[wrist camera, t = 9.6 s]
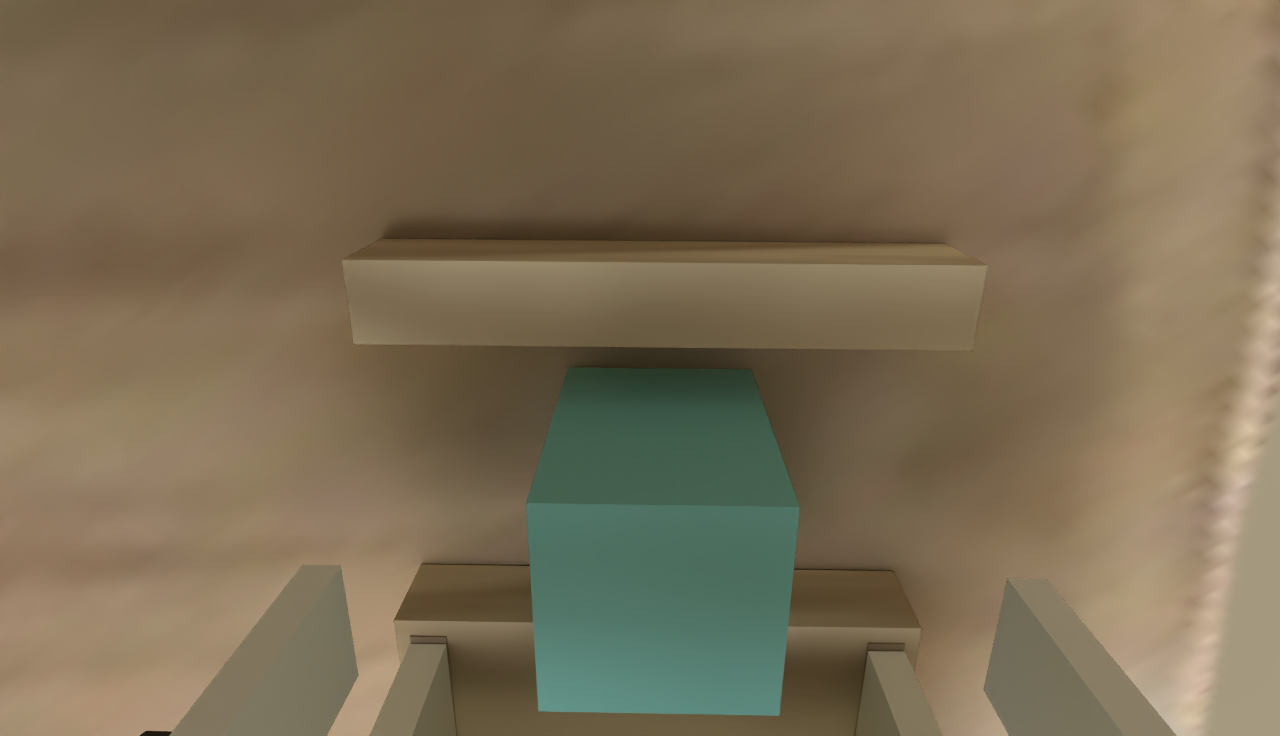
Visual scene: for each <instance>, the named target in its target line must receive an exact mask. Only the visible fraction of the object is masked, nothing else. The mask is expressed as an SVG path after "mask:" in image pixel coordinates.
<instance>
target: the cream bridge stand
mask: <svg viewBox="0 0 1280 736" xmlns="http://www.w3.org/2000/svg"><path fill="white" fill-rule="evenodd" d="M370 736H457V735H456V726H455V718H454V709H453V700H452V692H451V683H450V674H449V665H448V657H447V648H446V644H410V645H409V647H408V649H407V652H406V654H405V656H404V659H403V661H402V663H401V665H400V668H399V670H398V672H397V674H396V677H395V679H394V681H393V684H392V686H391V688H390V690H389V693H388V695H387V697H386V699H385V702H384V704H383V706H382V709H381V711H380V713H379V715H378V718H377V720H376V722H375V725H374V727H373V729H372V731H371V734H370ZM855 736H943V735H942V733H941V731H940V728H939V726H938V724H937V722H936V720H935V717H934V715H933V713H932V711H931V708H930V706H929V704H928V702H927V700H926V697H925V695H924V693H923V691H922V689H921V686H920V684H919V682H918V680H917V678H916V675H915V673H914V671H913V669H912V666H911V664H910V662H909V660H908V658H907V655H906V653H905V652H900V651H868V655H867V662H866V668H865V675H864V681H863V688H862V695H861V701H860V708H859V715H858V721H857V728H856V735H855Z"/></svg>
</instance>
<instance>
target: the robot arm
mask: <svg viewBox="0 0 1280 736" xmlns="http://www.w3.org/2000/svg"><path fill="white" fill-rule="evenodd" d="M357 677H358V670H357V664H356V657H355V651H354V645H353V639H352V632H351V626H350V620H349V614H348V607H347V601H346V595H345V589H344V583H343V576H342V570H341V565H302V566H301V567H300V569H299V570H298V571H297V572H296V574H295V575H294V576H293V578H292V579H291V580H290V581H289V583H288V584H287V585H286V587H285V588H284V589H283V590H282V592H281V593H280V594H279V596H278V597H277V598H276V599H275V601H274V602H273V603H272V605H271V606H270V607H269V608H268V610H267V611H266V612H265V614H264V615H263V616H262V617H261V619H260V620H259V621H258V623H257V624H256V625H255V626H254V628H253V629H252V630H251V632H250V633H249V634H248V635H247V637H246V638H245V639H244V640H243V642H242V643H241V644H240V646H239V647H238V648H237V649H236V651H235V652H234V653H233V655H232V656H231V657H230V658H229V660H228V661H227V662H226V664H225V665H224V666H223V667H222V669H221V670H220V671H219V673H218V674H217V675H216V676H215V678H214V679H213V680H212V682H211V683H210V684H209V685H208V687H207V688H206V689H205V691H204V692H203V693H202V694H201V696H200V697H199V698H198V699H197V701H196V702H195V703H194V705H193V706H192V707H191V708H190V710H189V711H188V712H187V714H186V715H185V716H184V717H183V719H182V720H181V721H180V723H179V724H178V725H177V726H176V728H175V729H174V730H173V732H167V731H145V732H144V733H143V734H141V735H140V736H327V734H328V732H329V730H330V728H331V726H332V725H333V723H334V721H335V719H336V717H337V715H338V713H339V711H340V709H341V708H342V706H343V704H344V702H345V700H346V698H347V696H348V694H349V692H350V691H351V689H352V687H353V685H354V683H355V681H356V679H357ZM984 691H985V693H986V695H987V697H988V698H989V700H990V702H991V704H992V706H993V707H994V709H995V711H996V713H997V715H998V716H999V718H1000V720H1001V722H1002V723H1003V725H1004V727H1005V729H1006V731H1007V732H1008V734H1009V736H1176V734H1175V733H1174V732H1173V731H1172V730H1171V728H1170V727H1169V726H1168V725H1167V723H1166V722H1165V721H1164V720H1163V719H1162V717H1161V716H1160V715H1159V714H1158V713H1157V711H1156V710H1155V709H1154V708H1153V707H1152V705H1151V704H1150V703H1149V702H1148V700H1147V699H1146V698H1145V697H1144V696H1143V694H1142V693H1141V692H1140V691H1139V690H1138V688H1137V687H1136V686H1135V685H1134V684H1133V682H1132V681H1131V680H1130V679H1129V678H1128V676H1127V675H1126V674H1125V673H1124V671H1123V670H1122V669H1121V668H1120V667H1119V665H1118V664H1117V663H1116V662H1115V661H1114V659H1113V658H1112V657H1111V656H1110V655H1109V653H1108V652H1107V651H1106V650H1105V649H1104V647H1103V646H1102V645H1101V644H1100V642H1099V641H1098V640H1097V639H1096V638H1095V636H1094V635H1093V634H1092V633H1091V632H1090V630H1089V629H1088V628H1087V627H1086V626H1085V624H1084V623H1083V622H1082V621H1081V619H1080V618H1079V617H1078V616H1077V615H1076V613H1075V612H1074V611H1073V610H1072V609H1071V607H1070V606H1069V605H1068V604H1067V603H1066V601H1065V600H1064V599H1063V598H1062V597H1061V595H1060V594H1059V593H1058V592H1057V590H1056V589H1055V588H1054V587H1053V586H1052V584H1051V583H1050V582H1049V581H1048V580H1047V579H1019V578H1007V582H1006V587H1005V592H1004V596H1003V601H1002V606H1001V610H1000V615H999V620H998V624H997V629H996V634H995V638H994V643H993V648H992V652H991V657H990V662H989V666H988V671H987V676H986V680H985V685H984Z"/></svg>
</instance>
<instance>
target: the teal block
mask: <svg viewBox="0 0 1280 736" xmlns="http://www.w3.org/2000/svg"><path fill="white" fill-rule="evenodd" d="M526 509H527V526H528V543H529V560H530V577H531V594H532V611H533V628H534V645H535V662H536V679H537V696H538V711H544V712H600V713H657V714H713V715H769V716H779V714H780V704H781V693H782V683H783V673H784V663H785V653H786V643H787V633H788V623H789V613H790V603H791V592H792V582H793V572H794V562H795V552H796V542H797V532H798V522H799V512H800V506H799V503H798V500H797V497H796V495H795V492H794V489H793V486H792V483H791V480H790V478H789V475H788V472H787V469H786V466H785V464H784V461H783V458H782V455H781V452H780V450H779V447H778V444H777V441H776V438H775V435H774V433H773V430H772V427H771V424H770V421H769V419H768V416H767V413H766V410H765V407H764V405H763V402H762V399H761V396H760V393H759V390H758V388H757V385H756V382H755V379H754V376H753V374H752V371H751V369H670V368H579V367H568V369H567V373H566V376H565V379H564V382H563V386H562V389H561V392H560V395H559V398H558V402H557V405H556V408H555V411H554V415H553V418H552V421H551V424H550V428H549V431H548V434H547V437H546V441H545V444H544V447H543V450H542V454H541V457H540V460H539V463H538V467H537V470H536V473H535V476H534V479H533V483H532V486H531V489H530V492H529V496H528V499H527V502H526Z"/></svg>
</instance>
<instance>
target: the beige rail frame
mask: <svg viewBox="0 0 1280 736" xmlns="http://www.w3.org/2000/svg"><path fill="white" fill-rule="evenodd" d="M342 267H343V274H344V281H345V288H346V295H347V302H348V309H349V316H350V322H351V329H352V336H353V343H354V344H376V345H472V346H567V347H663V348H759V349H854V350H950V351H973V345H974V340H975V334H976V329H977V323H978V318H979V312H980V307H981V301H982V296H983V290H984V285H985V279H986V274H987V268H988V265H986V264H984V263H982V262H980V261H978V260H976V259H974V258H972V257H970V256H968V255H966V254H964V253H962V252H960V251H959V250H957V249H955V248H953V247H951V246H949V245H947V244H942V243H825V242H708V241H592V240H475V239H379V240H377V241H376V242H374V243H372V244H370V245H368V246H366V247H364V248H363V249H361V250H359V251H357V252H355V253H353V254H351V255H350V256H348V257H346V258H344V259H342ZM394 625H395V632H396V639H397V646H398V653H399V660H400V665H401V663H402V661H403V659H404V656H405V654H406V652H407V649H408V647H409V645H410V644H446V648H447V657H448V665H449V674H450V683H451V692H452V700H453V709H454V718H455V726H456V735H457V736H855V735H856V728H857V721H858V715H859V708H860V701H861V695H862V688H863V681H864V675H865V668H866V662H867V655H868V651H900V652H905V653H906V655H907V658H908V660H909V662H910V664H911V666H912V669H913V671H914V669H915V664H916V658H917V653H918V647H919V642H920V636H921V631H922V628H921V626H920V624H919V622H918V620H917V618H916V616H915V614H914V612H913V610H912V608H911V606H910V604H909V602H908V600H907V598H906V596H905V594H904V592H903V590H902V588H901V586H900V584H899V582H898V580H897V578H896V576H895V574H894V572H893V571H848V570H794V572H793V582H792V592H791V603H790V613H789V623H788V633H787V643H786V653H785V663H784V673H783V683H782V693H781V704H780V714H779V716H769V715H713V714H657V713H600V712H544V711H538V696H537V679H536V662H535V645H534V628H533V611H532V594H531V577H530V566H500V565H430V564H421V566H420V568H419V570H418V572H417V574H416V576H415V578H414V580H413V582H412V584H411V586H410V588H409V590H408V592H407V594H406V596H405V598H404V601H403V603H402V605H401V607H400V609H399V611H398V613H397V615H396V617H395V619H394Z"/></svg>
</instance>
